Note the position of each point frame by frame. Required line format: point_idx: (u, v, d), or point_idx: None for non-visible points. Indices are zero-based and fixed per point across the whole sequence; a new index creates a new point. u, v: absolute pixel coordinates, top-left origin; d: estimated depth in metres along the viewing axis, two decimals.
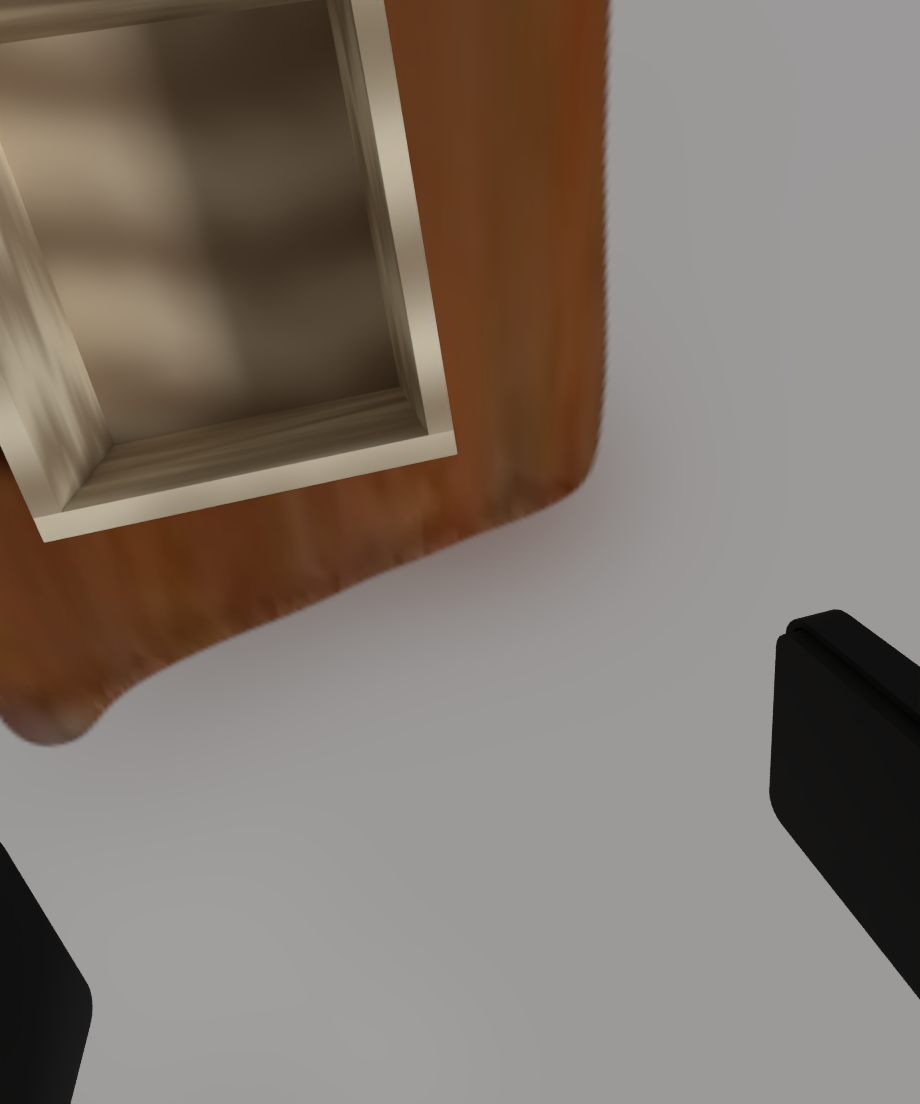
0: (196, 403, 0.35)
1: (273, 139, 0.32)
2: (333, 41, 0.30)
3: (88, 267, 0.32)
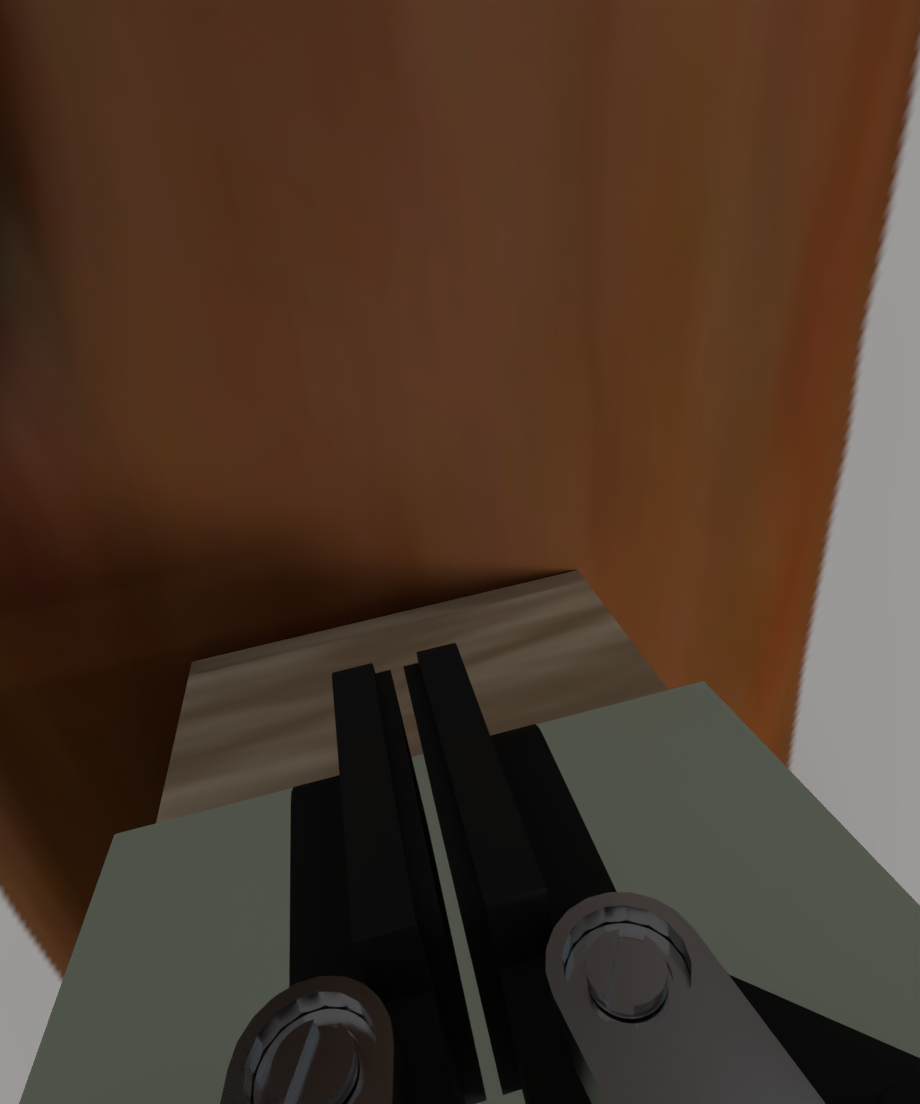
0: None
1: None
2: None
3: None
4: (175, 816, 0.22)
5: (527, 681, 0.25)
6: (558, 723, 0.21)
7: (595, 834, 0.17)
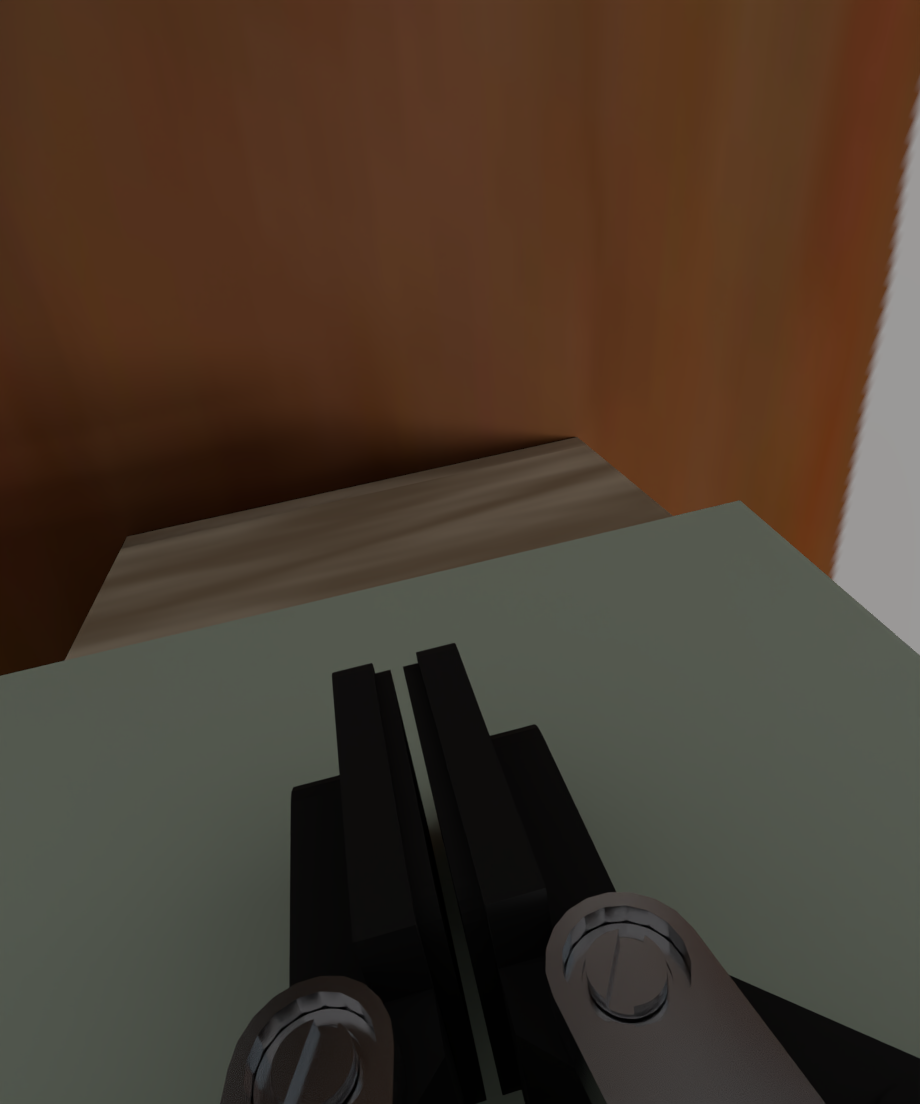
0: None
1: None
2: None
3: None
4: None
5: (517, 531, 0.21)
6: (556, 549, 0.16)
7: (609, 683, 0.13)
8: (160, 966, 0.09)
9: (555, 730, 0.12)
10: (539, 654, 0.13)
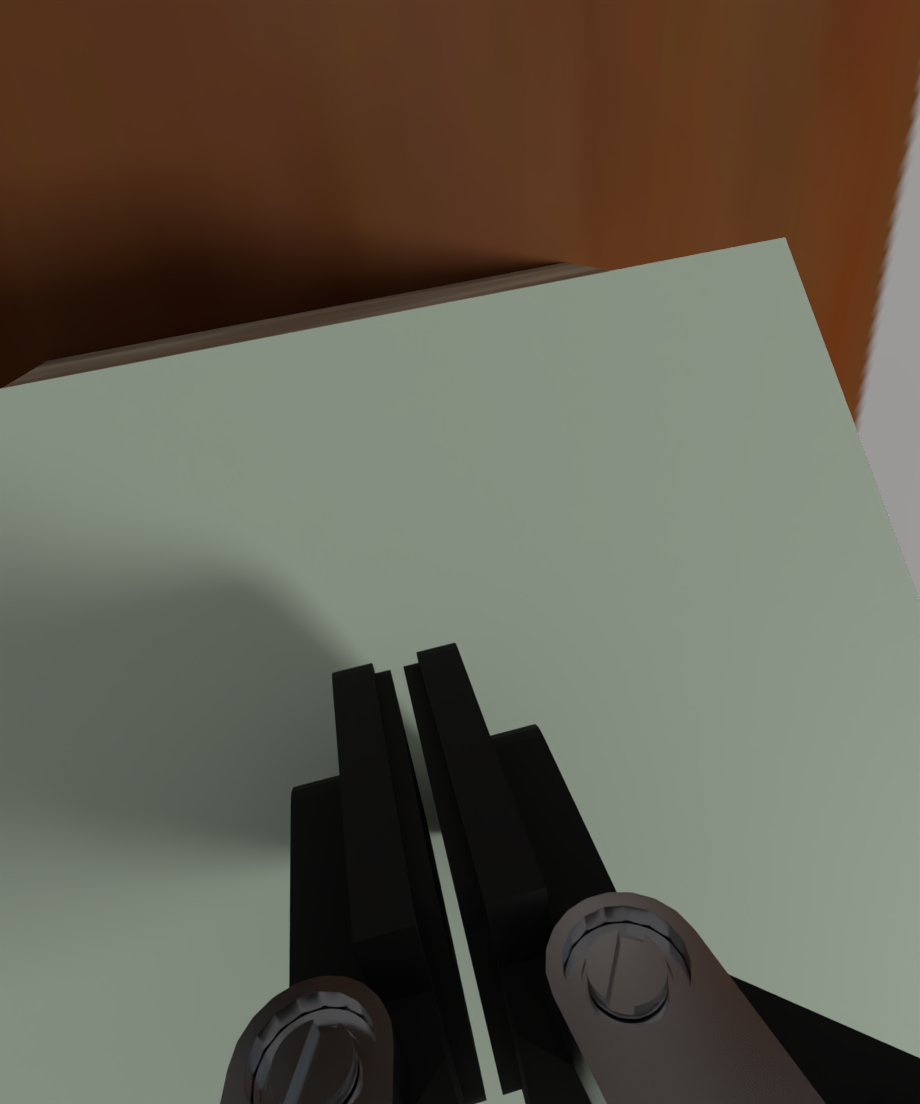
0: None
1: None
2: None
3: None
4: None
5: None
6: (547, 294, 0.12)
7: (589, 538, 0.12)
8: (153, 842, 0.10)
9: (527, 598, 0.11)
10: (516, 484, 0.12)
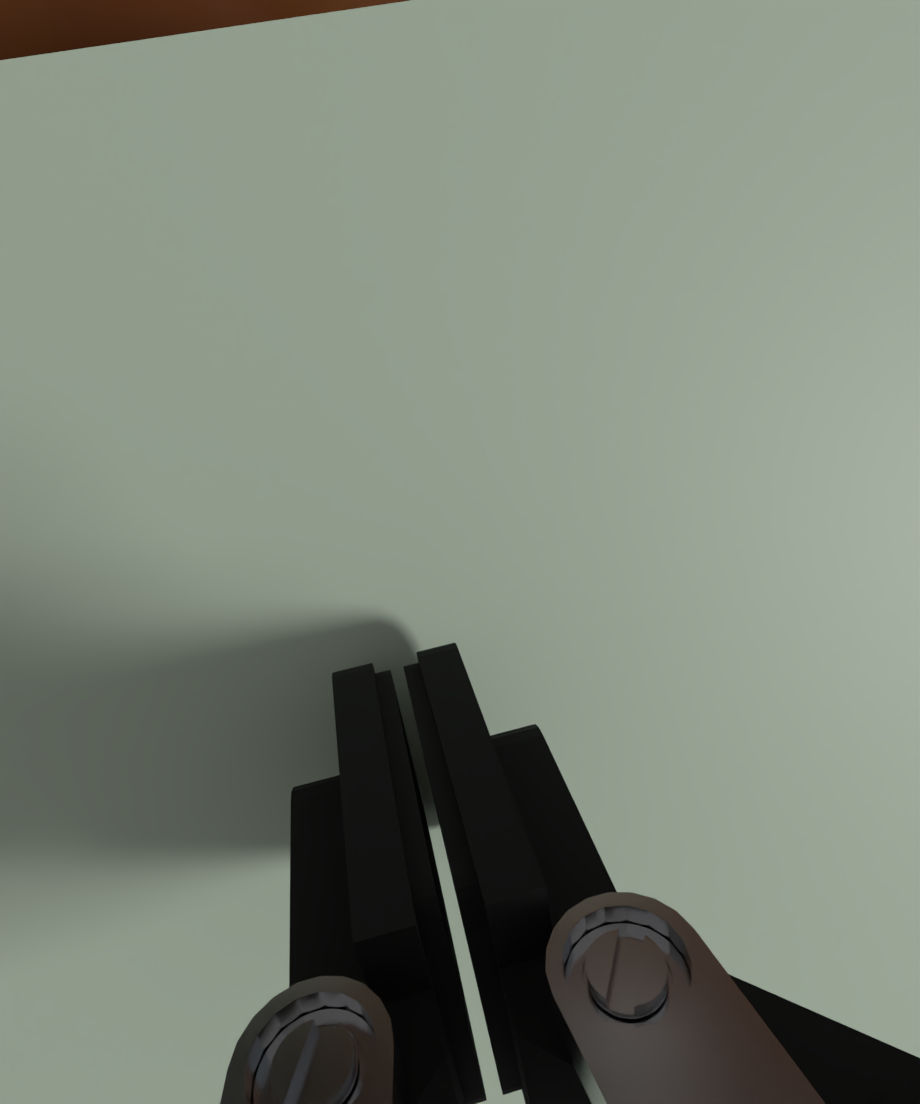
0: None
1: None
2: None
3: None
4: None
5: None
6: None
7: (600, 375, 0.10)
8: (97, 705, 0.09)
9: (519, 445, 0.10)
10: (518, 297, 0.09)
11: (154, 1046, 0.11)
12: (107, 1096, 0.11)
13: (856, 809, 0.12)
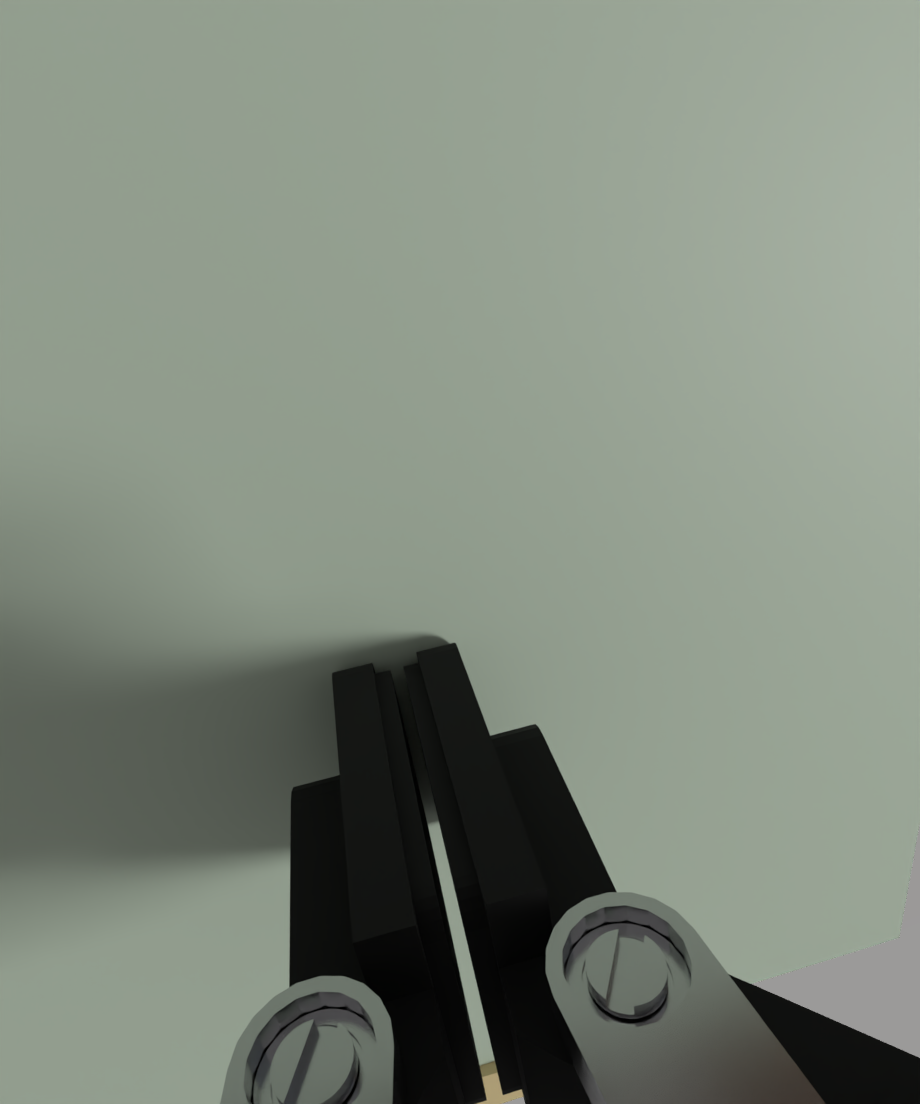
0: None
1: None
2: None
3: None
4: None
5: None
6: None
7: (623, 146, 0.07)
8: None
9: (516, 240, 0.08)
10: (524, 25, 0.07)
11: (100, 906, 0.10)
12: (55, 952, 0.10)
13: (850, 675, 0.11)
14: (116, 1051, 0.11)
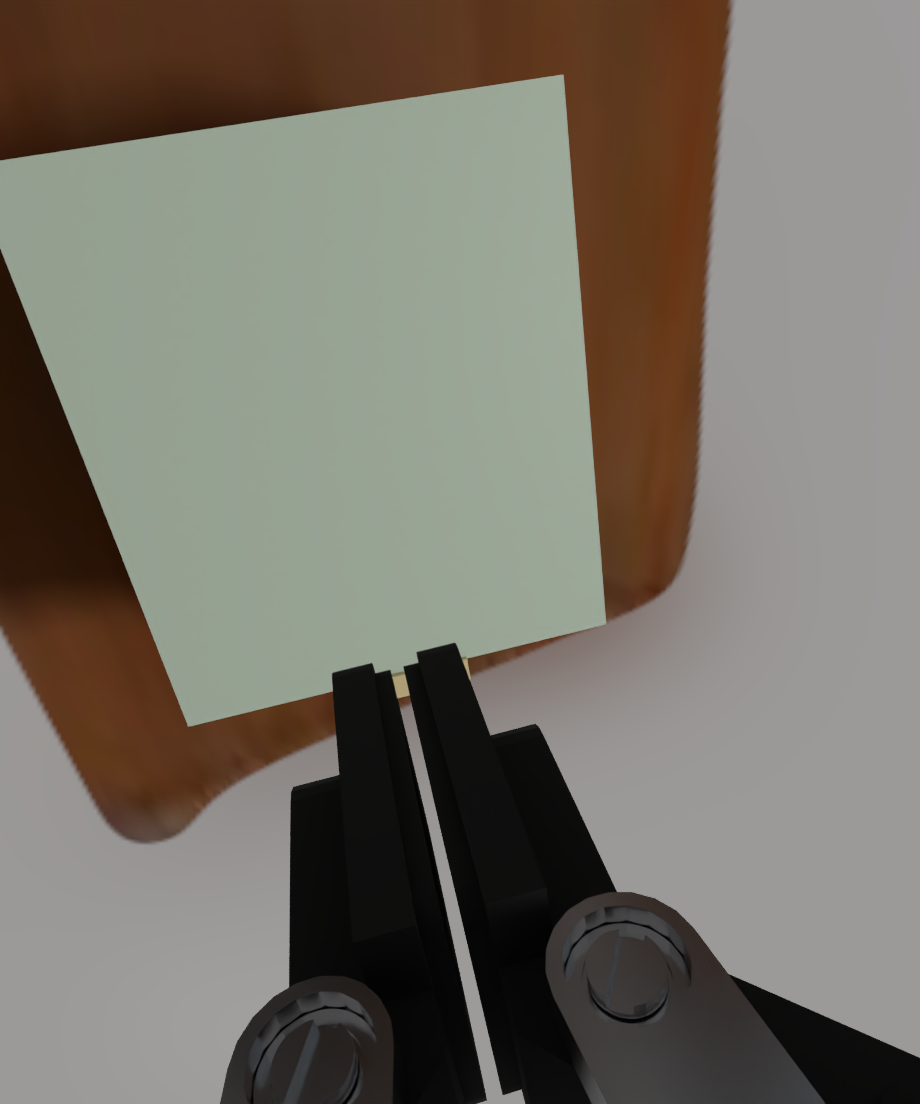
0: None
1: None
2: None
3: None
4: None
5: None
6: (416, 105, 0.21)
7: (425, 265, 0.23)
8: (216, 399, 0.23)
9: (391, 295, 0.23)
10: (389, 231, 0.22)
11: (237, 555, 0.25)
12: (217, 576, 0.26)
13: (548, 472, 0.26)
14: (237, 634, 0.27)
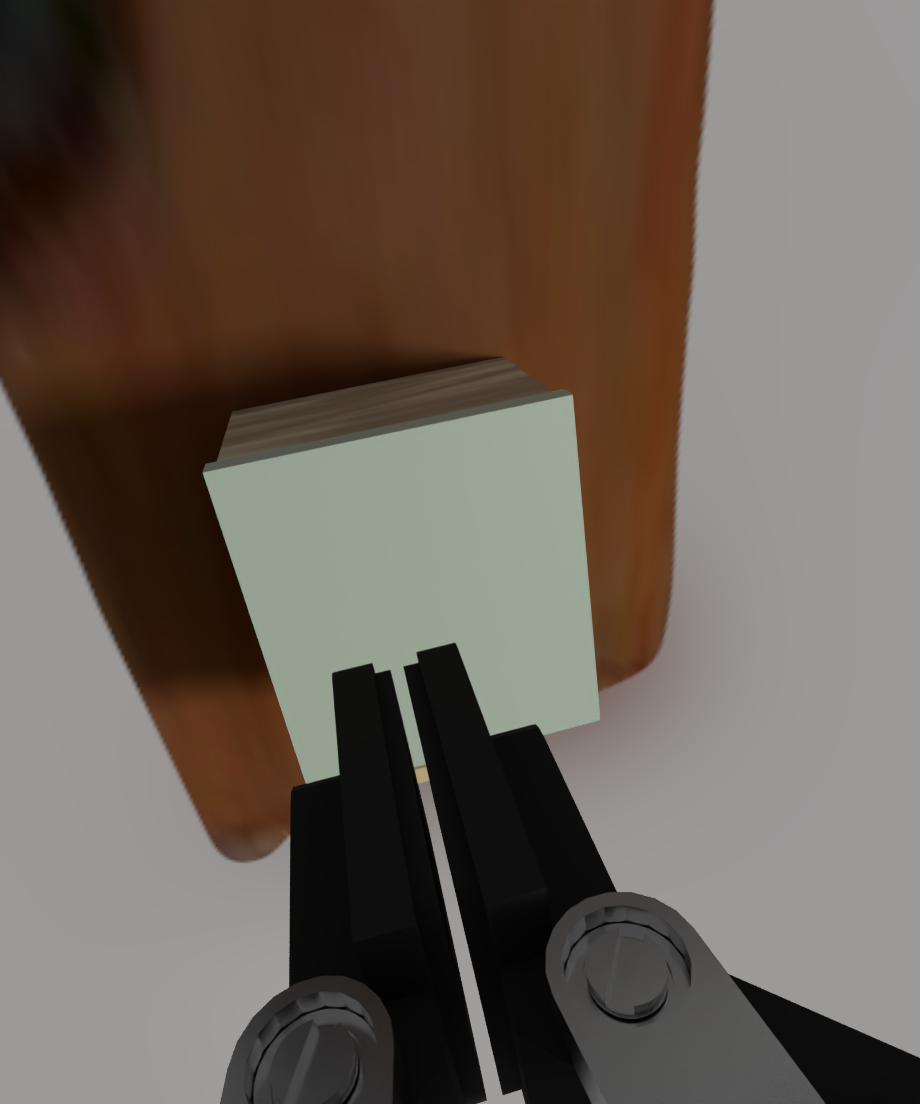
0: None
1: None
2: None
3: None
4: (230, 453, 0.34)
5: (458, 394, 0.38)
6: (478, 418, 0.33)
7: (481, 507, 0.35)
8: (343, 593, 0.35)
9: (458, 526, 0.35)
10: (459, 489, 0.34)
11: None
12: None
13: (560, 625, 0.39)
14: None
